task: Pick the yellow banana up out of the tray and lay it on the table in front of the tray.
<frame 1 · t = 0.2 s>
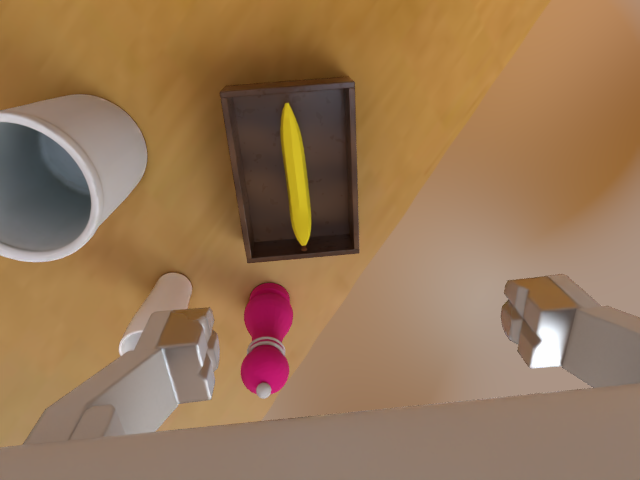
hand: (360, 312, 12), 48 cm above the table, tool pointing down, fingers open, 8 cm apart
utensil holder: (92, 146, 56), on the table
tray: (295, 167, 59), on the table
pepper mill: (269, 298, 68), on the table
banana: (295, 168, 59), resting on tray
drinking glass: (175, 285, 66), on the table
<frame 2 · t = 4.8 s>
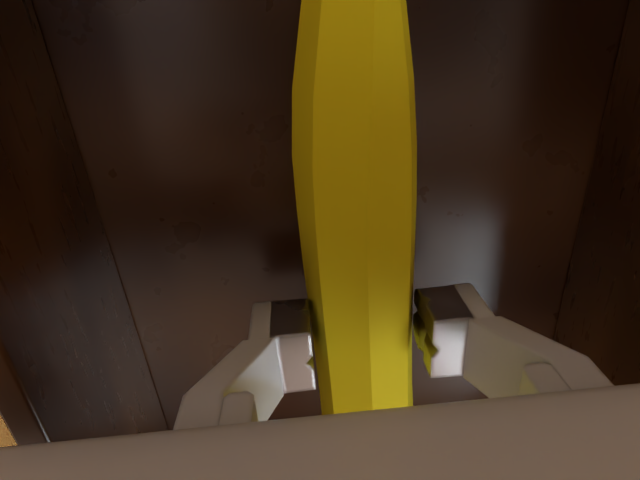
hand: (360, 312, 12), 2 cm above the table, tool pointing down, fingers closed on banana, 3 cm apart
tray: (350, 271, 14), on the table
banana: (352, 276, 14), resting on tray, touching gripper
when the fingers open (2 cm above the table, at t = 12.3 s): banana stays where it is, on the table.
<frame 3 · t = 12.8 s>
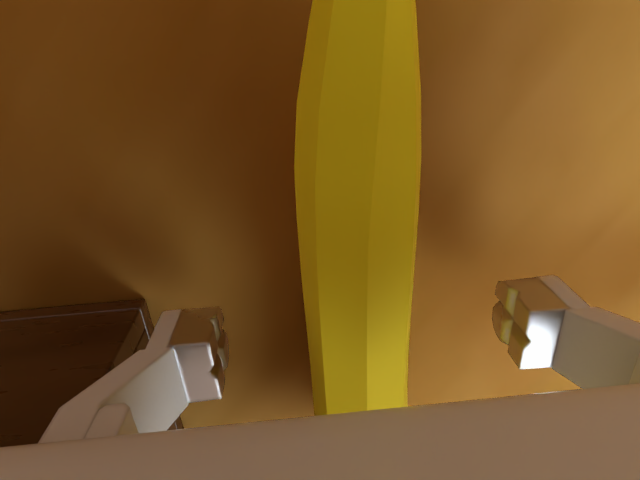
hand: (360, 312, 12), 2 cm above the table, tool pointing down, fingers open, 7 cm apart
banana: (349, 287, 14), on the table
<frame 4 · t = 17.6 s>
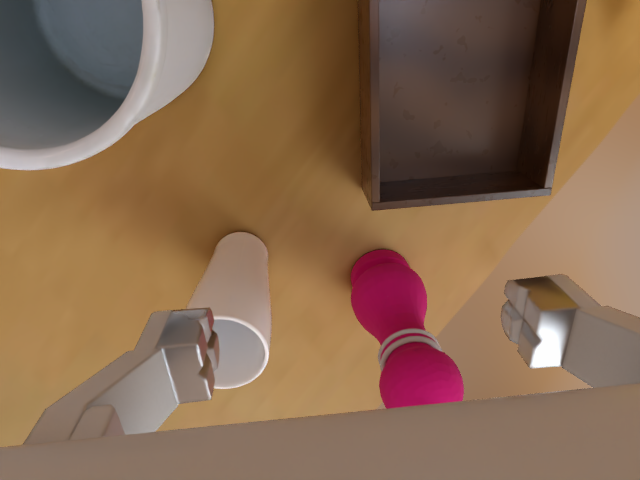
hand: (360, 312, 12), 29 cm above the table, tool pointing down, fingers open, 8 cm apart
utensil holder: (124, 11, 34), on the table
tray: (449, 56, 36), on the table
pepper mill: (379, 273, 46), on the table
drinking glass: (242, 252, 44), on the table
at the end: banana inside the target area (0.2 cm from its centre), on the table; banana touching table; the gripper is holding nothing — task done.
